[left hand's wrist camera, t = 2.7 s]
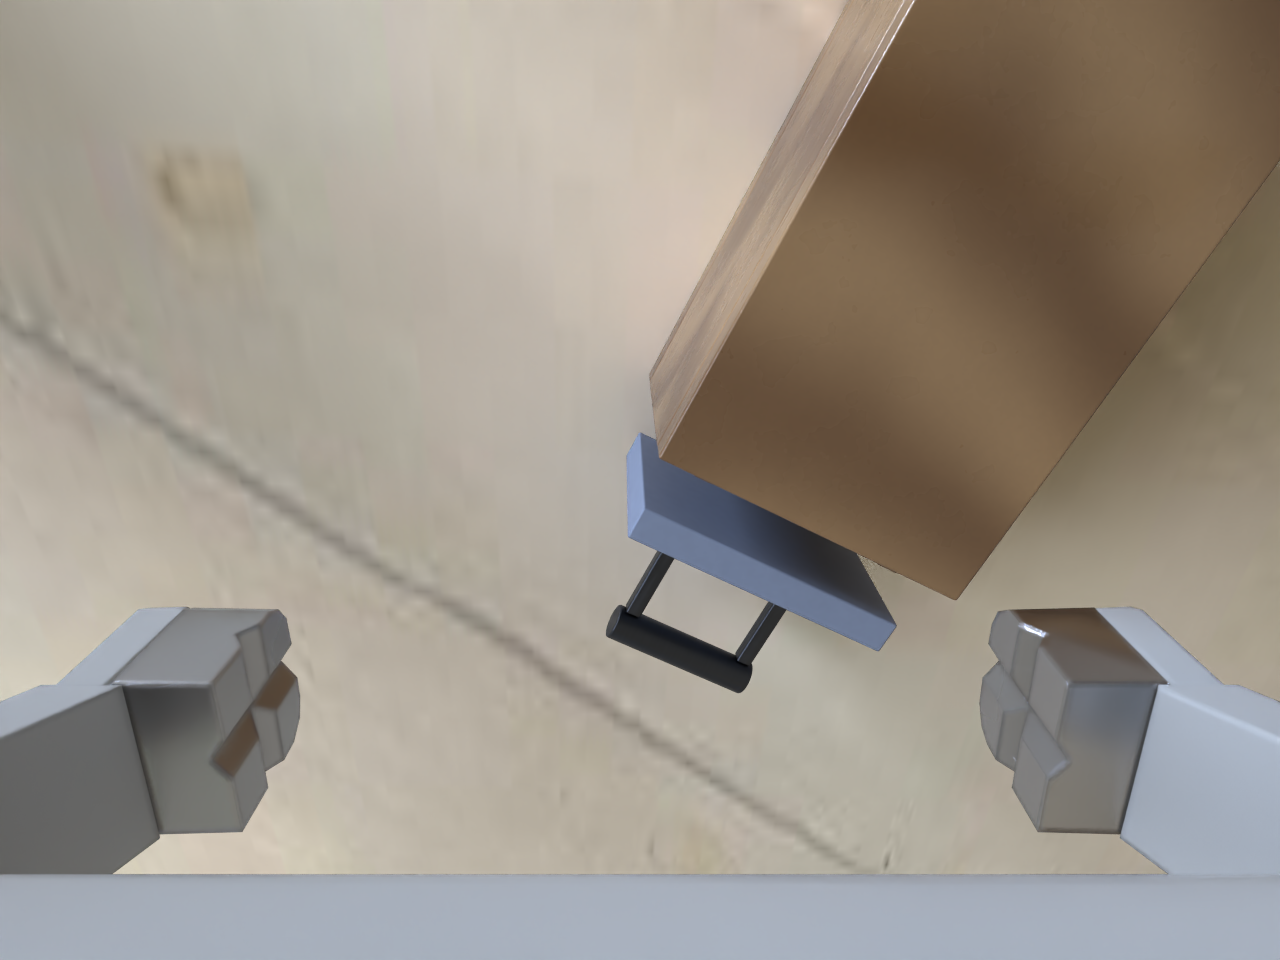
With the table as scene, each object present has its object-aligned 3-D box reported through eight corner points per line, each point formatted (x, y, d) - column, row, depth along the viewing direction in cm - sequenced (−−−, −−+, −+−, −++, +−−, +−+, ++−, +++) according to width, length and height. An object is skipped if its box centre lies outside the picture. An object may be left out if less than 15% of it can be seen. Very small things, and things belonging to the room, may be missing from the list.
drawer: (763, 654, 39) (794, 770, 32) (565, 566, 37) (553, 669, 30) (1100, 143, 31) (1240, 147, 24) (872, 1, 30) (951, -40, 22)
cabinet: (875, 488, 37) (956, 602, 28) (648, 375, 35) (657, 458, 26) (1179, 29, 31) (1408, -12, 22) (923, -142, 29) (1060, -264, 20)
